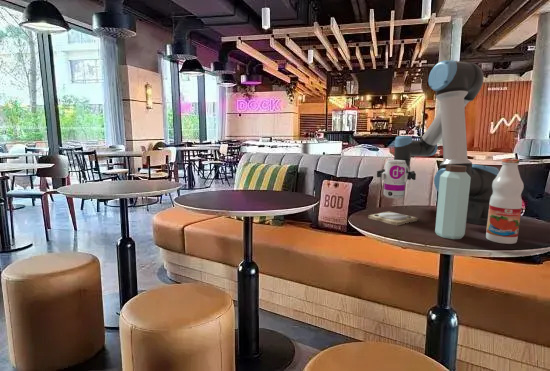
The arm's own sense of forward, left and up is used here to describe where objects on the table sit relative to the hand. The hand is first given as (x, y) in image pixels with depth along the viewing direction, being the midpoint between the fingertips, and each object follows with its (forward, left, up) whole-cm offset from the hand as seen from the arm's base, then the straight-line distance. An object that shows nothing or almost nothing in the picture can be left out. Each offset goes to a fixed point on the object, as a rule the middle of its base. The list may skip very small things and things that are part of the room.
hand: (393, 177), depth 151 cm
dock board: (+2, -4, -18) cm, 18 cm away
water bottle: (-24, -1, -18) cm, 30 cm away
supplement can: (+2, -4, -9) cm, 10 cm away
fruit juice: (-37, -11, -18) cm, 43 cm away
